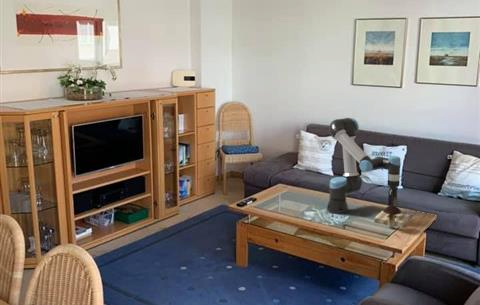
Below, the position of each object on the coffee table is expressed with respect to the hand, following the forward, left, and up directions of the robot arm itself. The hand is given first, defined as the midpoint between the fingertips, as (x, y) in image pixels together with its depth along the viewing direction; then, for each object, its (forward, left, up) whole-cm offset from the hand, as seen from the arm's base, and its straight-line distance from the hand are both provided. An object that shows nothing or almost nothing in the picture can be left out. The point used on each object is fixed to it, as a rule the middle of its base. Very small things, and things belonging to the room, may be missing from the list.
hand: (391, 213), depth 329 cm
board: (0, 0, -5) cm, 5 cm away
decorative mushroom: (+4, -14, -5) cm, 15 cm away
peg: (0, 0, -3) cm, 3 cm away
